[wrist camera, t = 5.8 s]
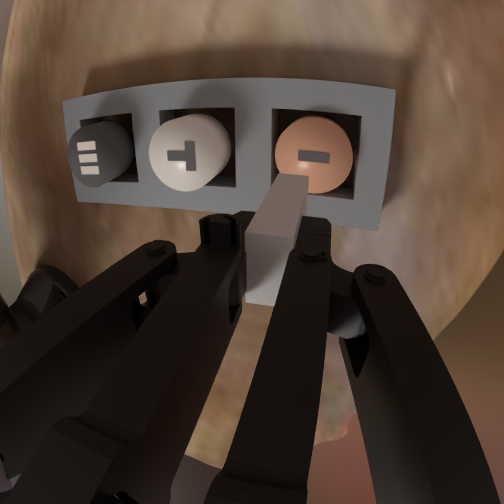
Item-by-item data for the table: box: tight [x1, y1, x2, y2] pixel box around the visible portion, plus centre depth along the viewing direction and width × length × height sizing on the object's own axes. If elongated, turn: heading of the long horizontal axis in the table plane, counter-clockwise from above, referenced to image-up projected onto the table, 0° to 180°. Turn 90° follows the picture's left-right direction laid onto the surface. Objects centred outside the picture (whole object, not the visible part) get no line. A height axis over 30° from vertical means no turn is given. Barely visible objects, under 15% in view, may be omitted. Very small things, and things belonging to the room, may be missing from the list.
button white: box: [149, 113, 231, 191], centre depth 25 cm, size 6×6×4 cm
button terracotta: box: [275, 114, 353, 193], centre depth 25 cm, size 6×6×4 cm
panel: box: [62, 78, 396, 231], centre depth 27 cm, size 32×12×3 cm, turn 90°
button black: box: [67, 120, 134, 188], centre depth 27 cm, size 6×6×4 cm
